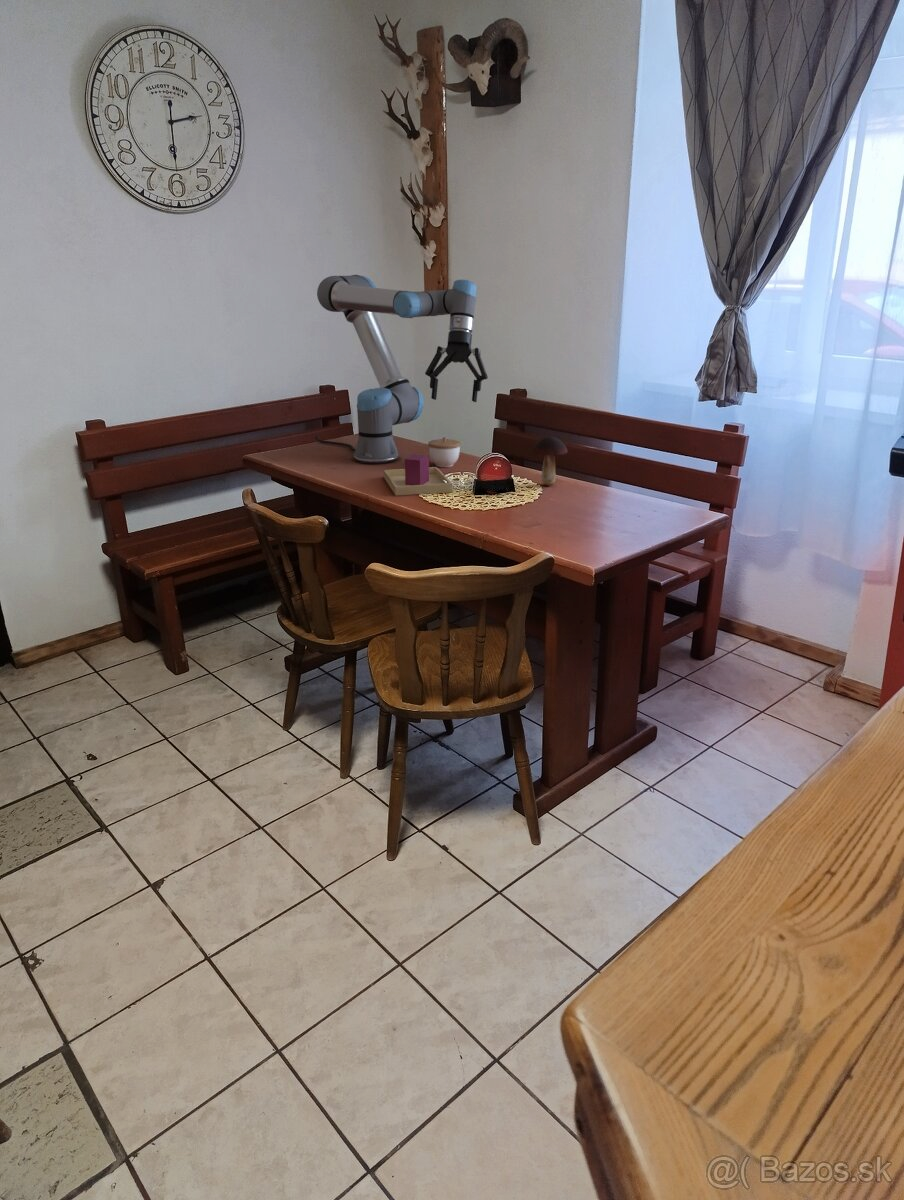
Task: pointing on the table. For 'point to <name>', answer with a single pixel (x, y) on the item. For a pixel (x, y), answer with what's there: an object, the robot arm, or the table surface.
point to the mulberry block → (416, 470)
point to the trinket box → (444, 451)
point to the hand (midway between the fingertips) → (453, 400)
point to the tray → (432, 486)
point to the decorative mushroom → (549, 457)
